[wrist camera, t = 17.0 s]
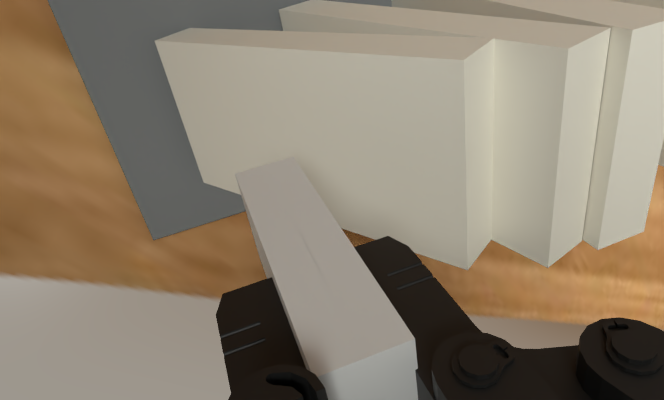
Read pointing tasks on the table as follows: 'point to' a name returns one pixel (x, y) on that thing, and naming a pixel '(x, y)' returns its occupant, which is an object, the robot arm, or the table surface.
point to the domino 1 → (350, 125)
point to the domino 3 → (606, 102)
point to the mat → (155, 95)
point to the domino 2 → (512, 111)
